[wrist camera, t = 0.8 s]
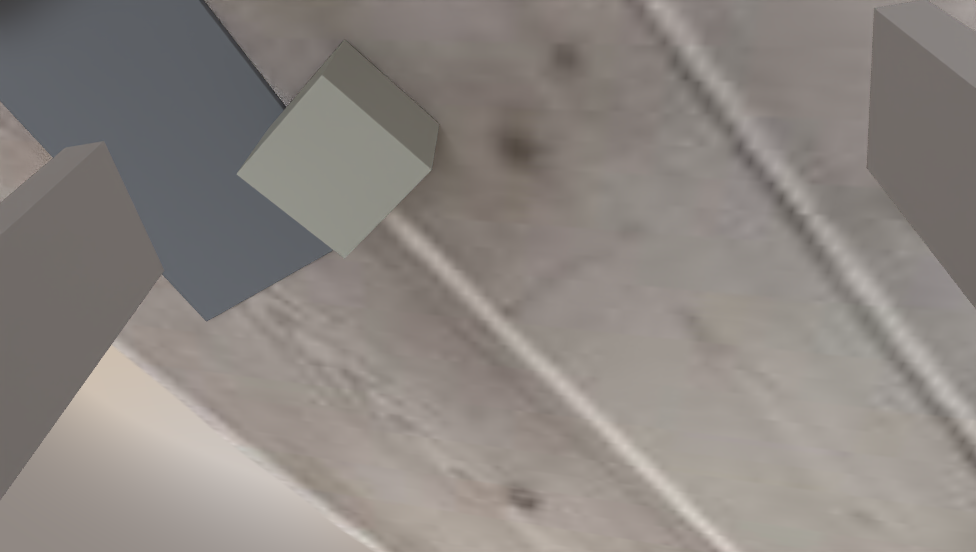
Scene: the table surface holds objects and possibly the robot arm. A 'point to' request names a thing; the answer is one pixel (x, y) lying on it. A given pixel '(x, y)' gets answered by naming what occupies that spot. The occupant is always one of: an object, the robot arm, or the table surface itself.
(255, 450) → the table surface
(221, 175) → the mat
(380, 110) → the grey cube
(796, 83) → the table surface
